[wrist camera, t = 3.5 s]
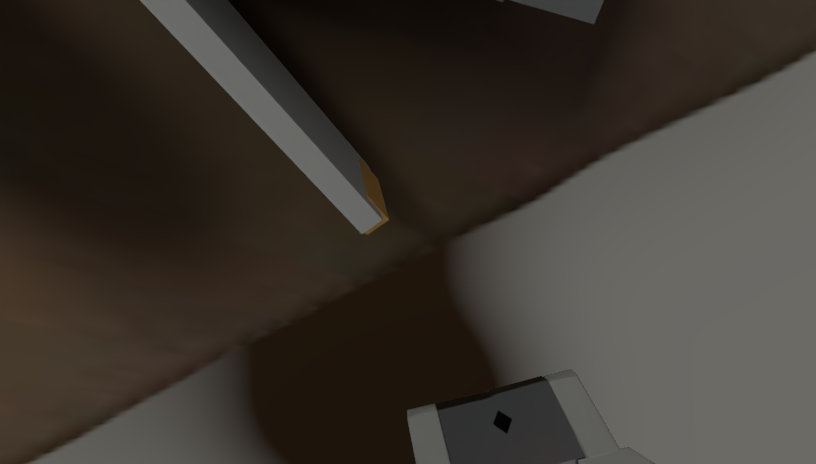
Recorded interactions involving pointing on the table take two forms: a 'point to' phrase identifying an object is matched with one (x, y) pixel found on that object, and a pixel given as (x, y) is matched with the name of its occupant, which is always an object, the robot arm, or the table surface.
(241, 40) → the side door
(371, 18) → the table surface
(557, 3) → the camera body
